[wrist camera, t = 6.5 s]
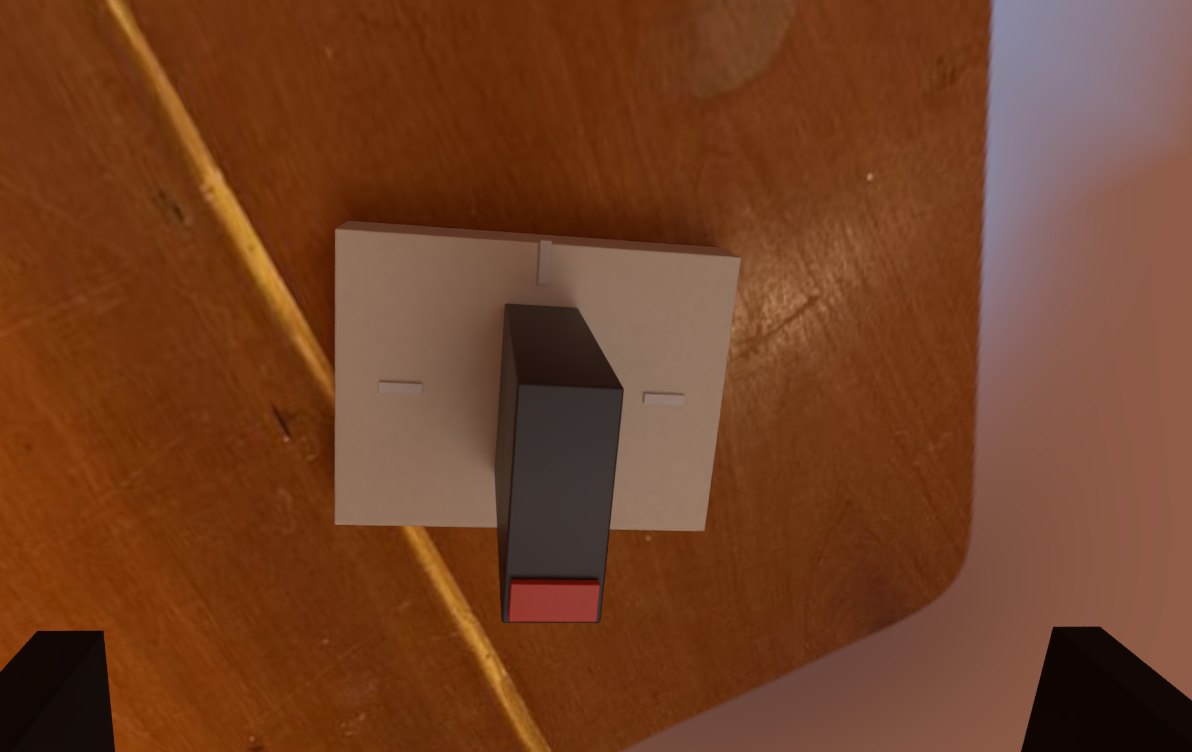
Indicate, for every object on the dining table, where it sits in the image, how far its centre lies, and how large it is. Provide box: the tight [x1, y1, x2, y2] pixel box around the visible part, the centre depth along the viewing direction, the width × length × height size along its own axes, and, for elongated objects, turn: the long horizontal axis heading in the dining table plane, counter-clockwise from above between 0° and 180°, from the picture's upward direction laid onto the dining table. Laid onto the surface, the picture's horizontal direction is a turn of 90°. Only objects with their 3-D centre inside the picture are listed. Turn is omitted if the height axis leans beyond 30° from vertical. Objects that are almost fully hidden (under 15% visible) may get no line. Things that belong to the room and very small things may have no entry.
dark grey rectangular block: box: [495, 304, 624, 623], centre depth 23 cm, size 6×2×9 cm, turn 175°
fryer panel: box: [334, 221, 741, 531], centre depth 29 cm, size 13×10×3 cm
